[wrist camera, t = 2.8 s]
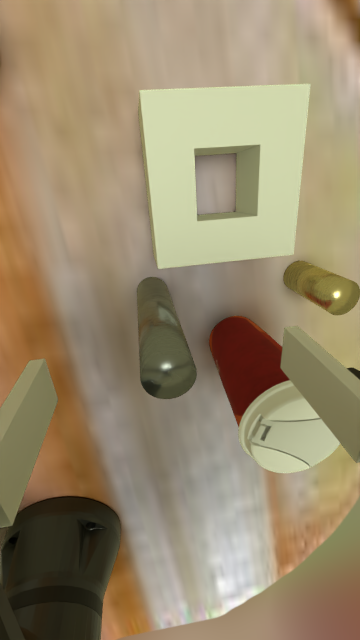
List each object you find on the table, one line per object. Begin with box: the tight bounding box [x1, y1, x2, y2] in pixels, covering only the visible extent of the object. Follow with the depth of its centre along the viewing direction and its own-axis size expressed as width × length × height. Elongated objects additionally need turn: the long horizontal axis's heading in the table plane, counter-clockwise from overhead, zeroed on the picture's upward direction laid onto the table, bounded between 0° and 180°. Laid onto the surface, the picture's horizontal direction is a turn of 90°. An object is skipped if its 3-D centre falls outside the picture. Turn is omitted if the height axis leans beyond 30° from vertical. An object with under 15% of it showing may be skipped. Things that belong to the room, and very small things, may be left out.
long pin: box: [137, 277, 197, 399], centre depth 21 cm, size 3×3×14 cm
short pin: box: [284, 261, 360, 315], centre depth 26 cm, size 3×3×7 cm
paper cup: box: [209, 316, 340, 473], centre depth 25 cm, size 8×8×14 cm
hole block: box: [138, 84, 310, 269], centre depth 22 cm, size 11×11×5 cm
